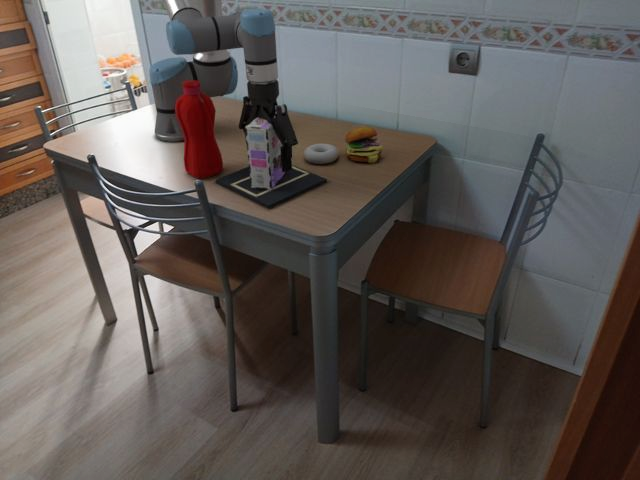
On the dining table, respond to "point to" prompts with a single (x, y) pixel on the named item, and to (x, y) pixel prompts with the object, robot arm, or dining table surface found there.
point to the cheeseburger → (363, 145)
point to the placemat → (284, 190)
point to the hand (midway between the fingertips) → (269, 163)
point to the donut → (321, 153)
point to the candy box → (263, 154)
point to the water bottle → (198, 131)
